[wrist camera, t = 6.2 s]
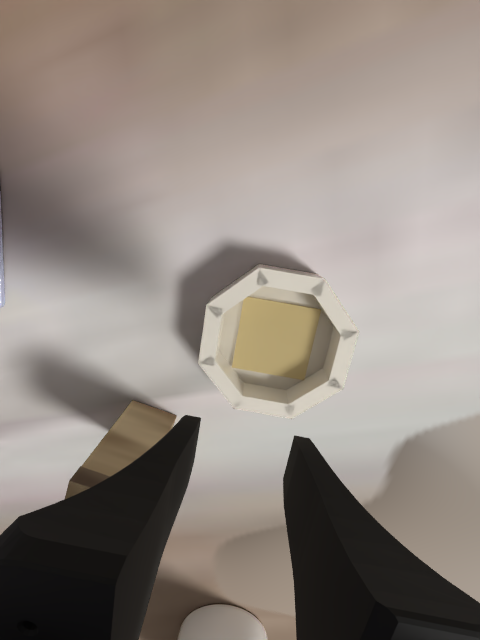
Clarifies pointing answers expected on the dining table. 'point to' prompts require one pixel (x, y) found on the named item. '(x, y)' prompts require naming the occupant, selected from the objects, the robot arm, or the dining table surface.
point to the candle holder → (221, 624)
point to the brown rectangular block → (122, 445)
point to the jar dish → (277, 341)
